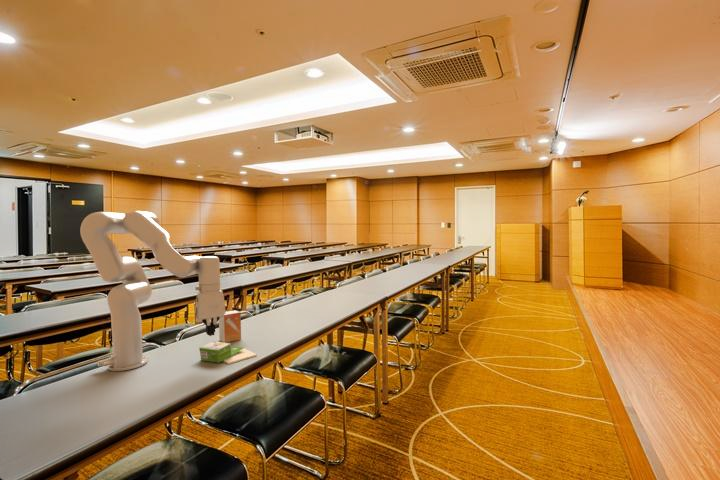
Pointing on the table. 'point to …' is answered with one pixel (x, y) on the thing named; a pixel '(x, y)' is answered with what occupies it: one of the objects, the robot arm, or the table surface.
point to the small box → (230, 326)
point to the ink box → (217, 351)
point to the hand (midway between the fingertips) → (210, 334)
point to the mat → (239, 356)
